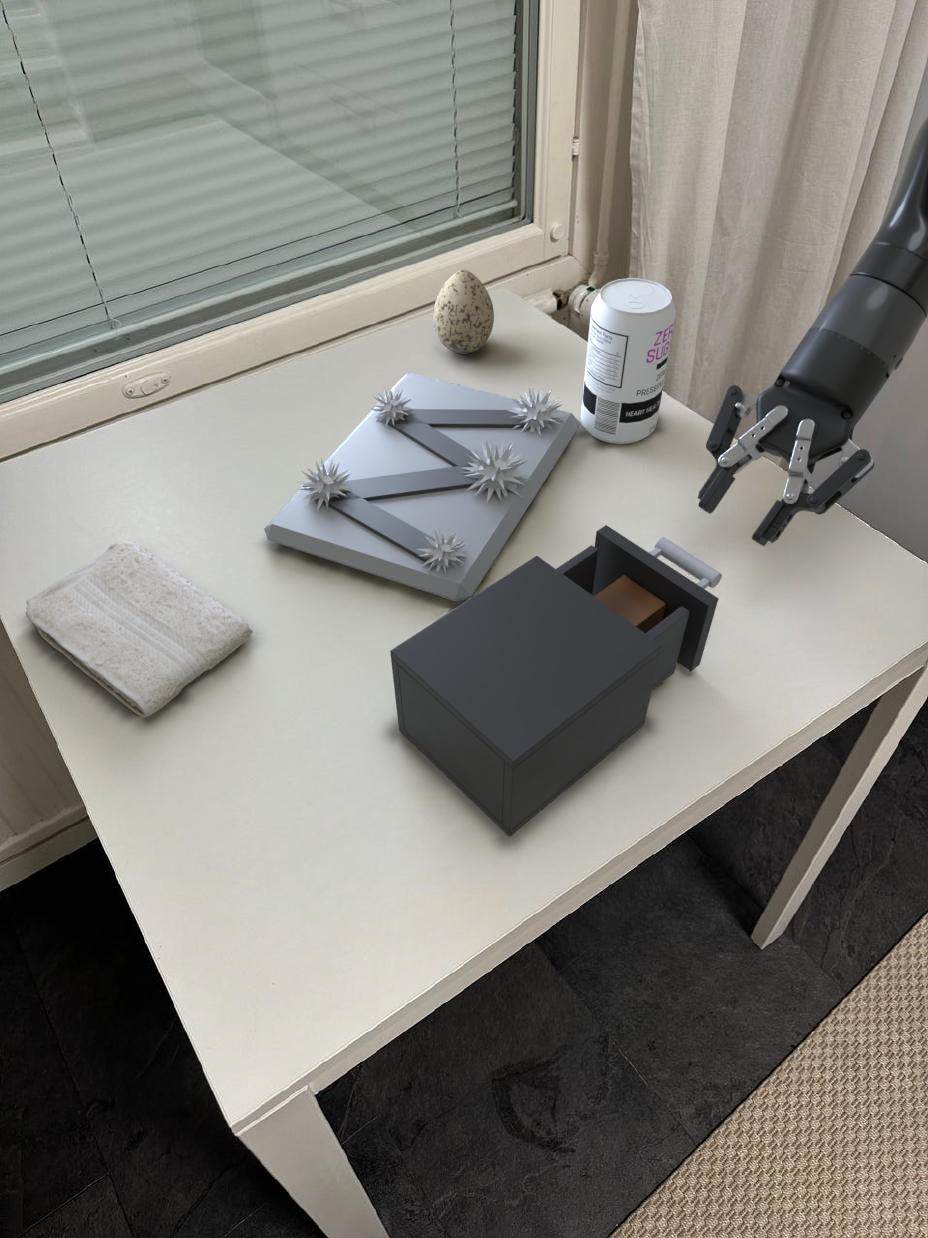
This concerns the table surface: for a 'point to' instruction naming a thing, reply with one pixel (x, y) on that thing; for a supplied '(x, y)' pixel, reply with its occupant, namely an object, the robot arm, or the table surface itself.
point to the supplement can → (626, 359)
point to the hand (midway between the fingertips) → (731, 525)
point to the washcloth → (136, 626)
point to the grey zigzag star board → (428, 484)
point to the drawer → (655, 592)
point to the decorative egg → (463, 313)
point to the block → (633, 603)
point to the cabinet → (523, 690)
